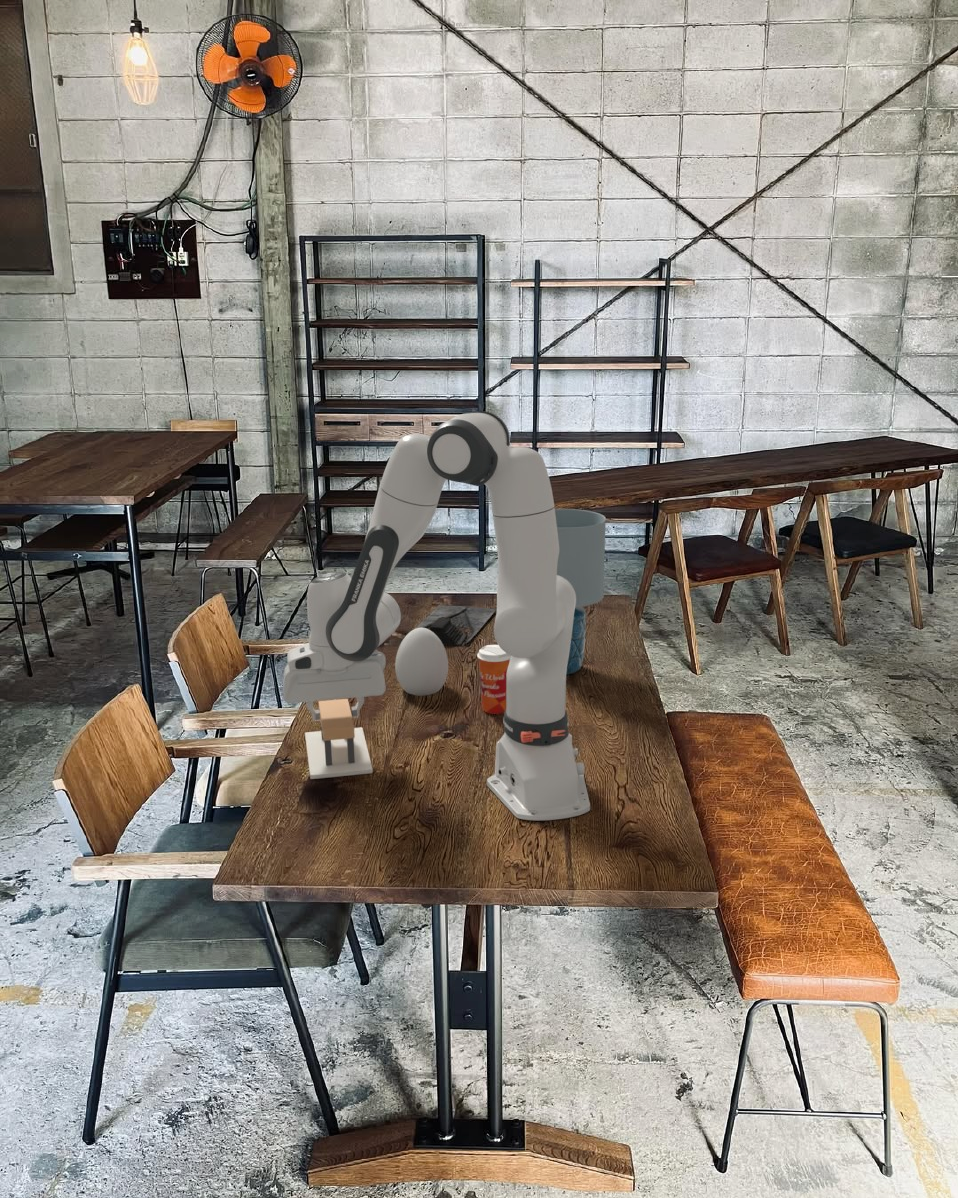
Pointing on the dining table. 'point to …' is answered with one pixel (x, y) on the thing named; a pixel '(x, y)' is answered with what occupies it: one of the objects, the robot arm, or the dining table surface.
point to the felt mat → (337, 756)
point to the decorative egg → (421, 663)
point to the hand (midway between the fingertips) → (336, 718)
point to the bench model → (336, 726)
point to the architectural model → (456, 623)
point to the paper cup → (493, 678)
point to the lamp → (581, 568)
